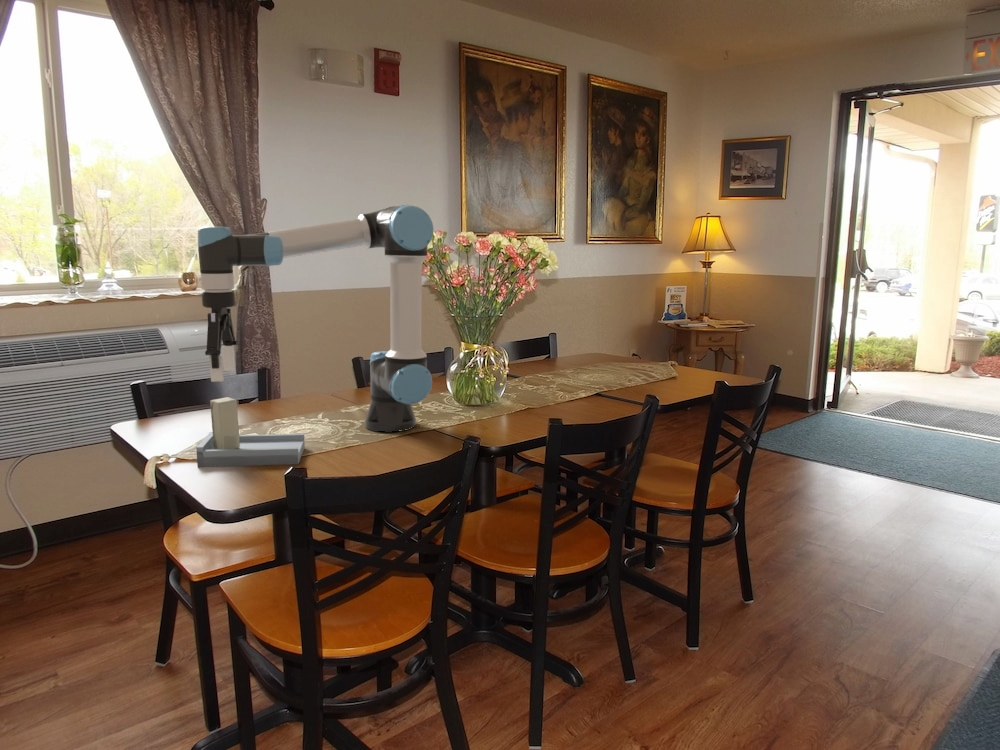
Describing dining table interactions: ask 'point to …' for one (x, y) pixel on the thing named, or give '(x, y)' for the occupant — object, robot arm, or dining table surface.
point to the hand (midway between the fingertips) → (223, 375)
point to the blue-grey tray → (253, 451)
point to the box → (225, 423)
